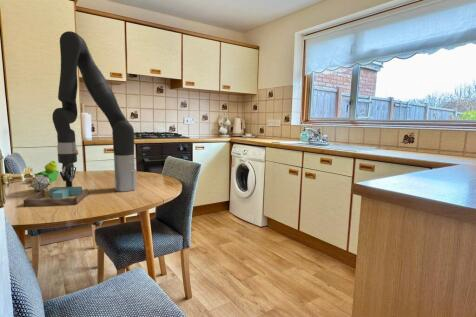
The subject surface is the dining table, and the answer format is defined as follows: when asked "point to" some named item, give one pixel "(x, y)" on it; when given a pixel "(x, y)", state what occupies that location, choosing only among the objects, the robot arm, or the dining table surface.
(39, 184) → the game die
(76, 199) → the walnut bay
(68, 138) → the robot arm
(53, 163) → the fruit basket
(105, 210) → the dining table surface
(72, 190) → the teal T block
